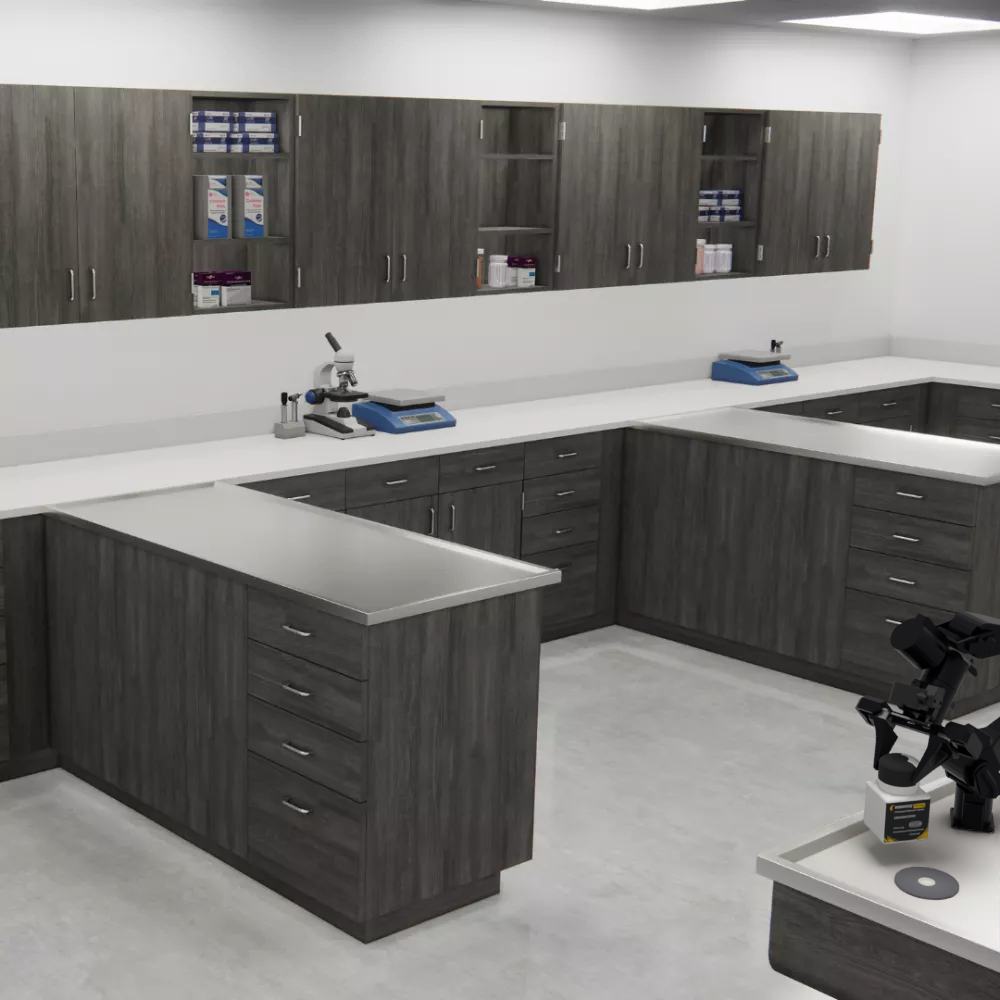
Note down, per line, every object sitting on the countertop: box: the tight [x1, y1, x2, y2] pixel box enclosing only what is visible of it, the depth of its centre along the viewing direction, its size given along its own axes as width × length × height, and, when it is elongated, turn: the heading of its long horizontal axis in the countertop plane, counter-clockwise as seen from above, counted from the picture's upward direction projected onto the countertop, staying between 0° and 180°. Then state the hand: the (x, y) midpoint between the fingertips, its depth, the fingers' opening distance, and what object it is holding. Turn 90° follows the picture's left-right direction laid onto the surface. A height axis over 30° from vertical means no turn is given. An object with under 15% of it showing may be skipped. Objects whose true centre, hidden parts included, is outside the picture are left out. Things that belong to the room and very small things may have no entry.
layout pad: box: [894, 865, 960, 901], centre depth 209 cm, size 9×9×1 cm
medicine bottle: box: [863, 752, 932, 845], centre depth 215 cm, size 7×7×12 cm
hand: (894, 775), depth 213 cm, fingers closed on medicine bottle, 6 cm apart
